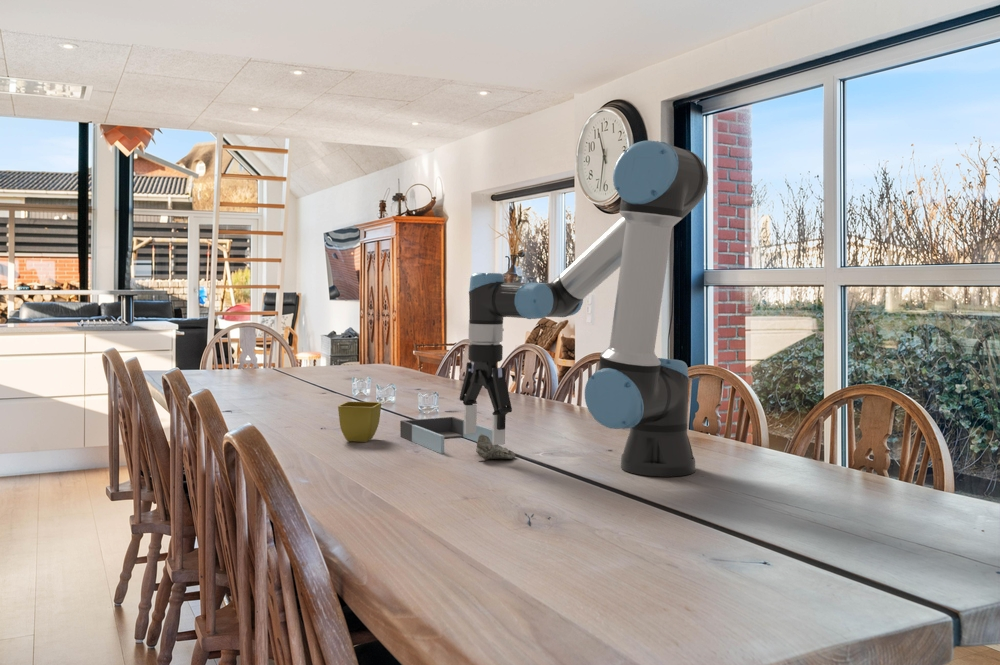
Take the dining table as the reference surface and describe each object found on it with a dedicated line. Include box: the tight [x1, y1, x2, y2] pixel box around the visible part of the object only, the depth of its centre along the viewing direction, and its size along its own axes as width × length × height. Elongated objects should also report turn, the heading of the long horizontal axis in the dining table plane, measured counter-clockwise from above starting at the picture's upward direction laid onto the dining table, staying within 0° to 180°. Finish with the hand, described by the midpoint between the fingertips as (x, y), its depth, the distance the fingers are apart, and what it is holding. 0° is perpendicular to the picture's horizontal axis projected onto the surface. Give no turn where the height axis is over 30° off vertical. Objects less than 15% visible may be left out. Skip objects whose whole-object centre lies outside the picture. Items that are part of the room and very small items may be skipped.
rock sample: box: [475, 434, 516, 461], centre depth 180 cm, size 10×8×9 cm
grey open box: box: [399, 416, 464, 442], centre depth 207 cm, size 8×15×4 cm, turn 119°
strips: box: [411, 421, 493, 455], centre depth 196 cm, size 17×15×4 cm
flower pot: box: [337, 401, 382, 443], centre depth 201 cm, size 9×9×9 cm
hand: (483, 438), depth 182 cm, fingers open, 13 cm apart
